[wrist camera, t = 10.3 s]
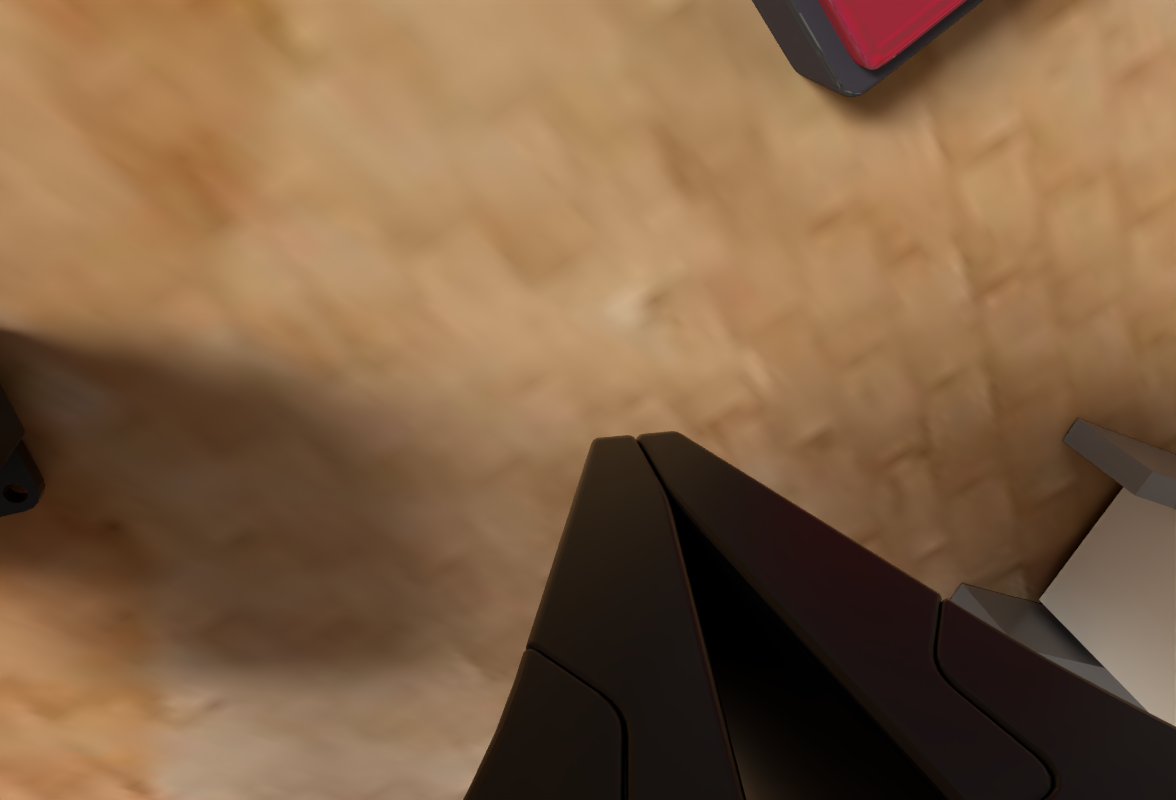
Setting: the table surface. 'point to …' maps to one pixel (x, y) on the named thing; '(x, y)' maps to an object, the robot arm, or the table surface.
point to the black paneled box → (856, 36)
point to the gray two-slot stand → (1033, 623)
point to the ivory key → (1126, 599)
